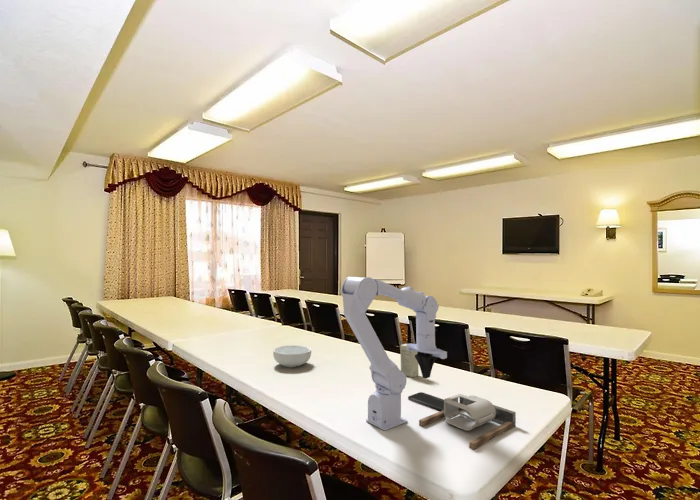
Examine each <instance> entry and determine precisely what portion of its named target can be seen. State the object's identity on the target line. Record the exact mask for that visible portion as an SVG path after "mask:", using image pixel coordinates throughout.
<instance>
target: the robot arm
mask: <svg viewBox="0 0 700 500" xmlns="http://www.w3.org/2000/svg"><path fill="white" fill-rule="evenodd" d="M339 292H340V294H341V296H342V305H343V306H342V307H343V315H344V317H345V319H346V321H347V324H348V325H349V326H350V329H351V330H352V332H353V334H354V336H355V338H356V339H357V341H358V343H359V345H360V347H361V349H362V350H363V351H364V353H365V356H366V357H367V359H368V361H369V363H370V365H369V366H368V367H369V370H370V372H371V379H372V380H371V381H372V382H373V383H374V384H375V385H374V387H375V388H376V389H375V392H374V393H372V394H370V395H369V397H368V400H367V418H366V419H365V421H366V422H367V423H369V424H371V425H373V426H375V427H377V428H379V429H380V430H381V431H387V430H390V429H393V428H394V427H397V426H399V425H402V424H405V423H408V419H407V418H404V417H402V393H403V391H404V389H405V388H406V385H407V381H408V380H407V376H406V375H405V374H404V372H402V371H401V369H400V368H399V367H398V365H397V364H396V363H395V362H394V361H393V360H392V359H390V357H389V355H388V354H387V352H386V350H385V348H384V346H383V345H382V344H383V343H382V342H381V341H380V339H379V337H378V336H377V333H376V331H375V330H374V328H373V326H372V324H371V322H370V320H369V318H368V317H367V315H366V312H367V310H368V309H369V307H370V305H371V304H372V302H373V300H374V299H375V298H376V296H377V297H378V296H380V295H382V296H385V297H387V298H390V299H395V300H396V303H397V304H398V305H399V306H401V307H404V308H407V309H410V310H412V311H413V312H414V313H415V324H416V325H415V327H416V329H415V330H416V334H415V335H416V336H415V337H416V339H415V340H416V343H412V342H411V343H406V344H407V350H409V351H410V350H411V351H415V352H418V353H417V354H416V355H415V358H416V360H417V362H418V367H419V369H420V372H421V376H422V378H423V379H428V378H431V375H432V369H433V366H434V364H435V362H436V360H437V359H438V358H440V359H441V360H445V359H447V358H448V351H445V350H443V349H440V348H437V345H436V325H435V324H436V322H435V320H436V318H437V312H438V311H439V307H440V306H439V304H438V301H437V300H436V298H435V297H434V296H431V295H425V292H423V291H419V292H418V291H417V290H414V287H412V286H406V287H402V288H401V289H400V288H399V287H396V286H394V285H392V284H390V283H387V282H385V281H383V280H380V279H377V278H373V277H369V276H367V277H362V276H361V277H360V276H355V275H349V276H347V277H346V278H345V279H344V280H343V283H342V285H341V287H340V291H339Z"/></svg>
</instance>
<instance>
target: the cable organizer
mask: <svg viewBox="0 0 700 500" xmlns="http://www.w3.org/2000/svg"><path fill="white" fill-rule="evenodd" d="M460 397H462V398H465V399H464V401H463V404H461V403H460V402H459V399H460ZM443 399H444V415H445V417H444V418H445V421H444V422H445V423H448V424H449V425H452V426H455V427H456V428H459V429H461V430H463V431H471V430H473V429H476V428H477V427H479V426H480V427H481V426H482V425H484V424H487V423H488V422H490V421H492V420H493V419H494V418H495V416H496V410H495V407H494V406H493V405H494V404H493V402H491V401H490V400H489V399H486V398H483V397H479V396H476V395H469V396H468V395H464V394H462V393H457V394H455V395H452V396H449V397H446V398H443ZM458 407H459V408H461V409H464V410H463V411H465V413H463V412H462V411H459V410H458Z"/></svg>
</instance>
